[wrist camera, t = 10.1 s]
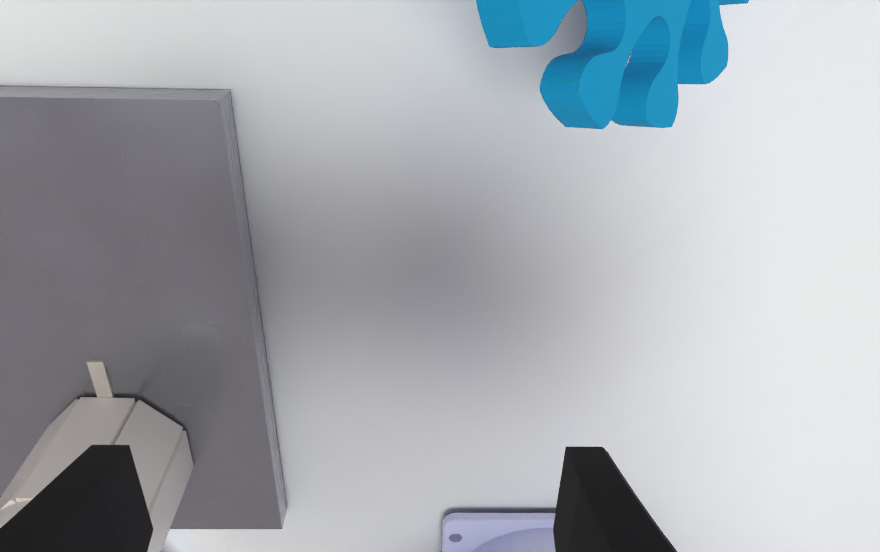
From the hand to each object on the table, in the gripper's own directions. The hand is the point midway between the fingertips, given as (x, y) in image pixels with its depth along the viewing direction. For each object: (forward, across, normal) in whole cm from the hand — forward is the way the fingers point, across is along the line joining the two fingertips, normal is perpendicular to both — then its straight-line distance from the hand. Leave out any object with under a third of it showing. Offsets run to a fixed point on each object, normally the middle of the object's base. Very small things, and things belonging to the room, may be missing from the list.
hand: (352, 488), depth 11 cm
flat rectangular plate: (+10, +9, +4) cm, 14 cm away
